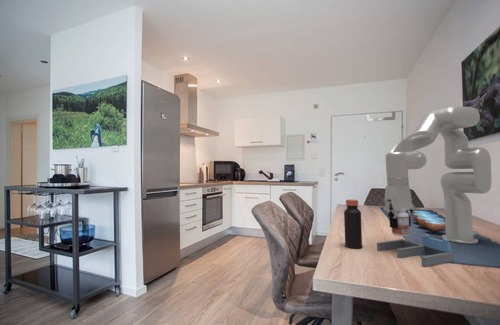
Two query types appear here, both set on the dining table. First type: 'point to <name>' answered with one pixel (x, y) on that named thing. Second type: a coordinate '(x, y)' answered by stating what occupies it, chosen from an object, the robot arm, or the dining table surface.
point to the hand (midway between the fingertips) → (400, 226)
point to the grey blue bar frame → (421, 250)
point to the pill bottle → (402, 224)
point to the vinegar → (352, 225)
